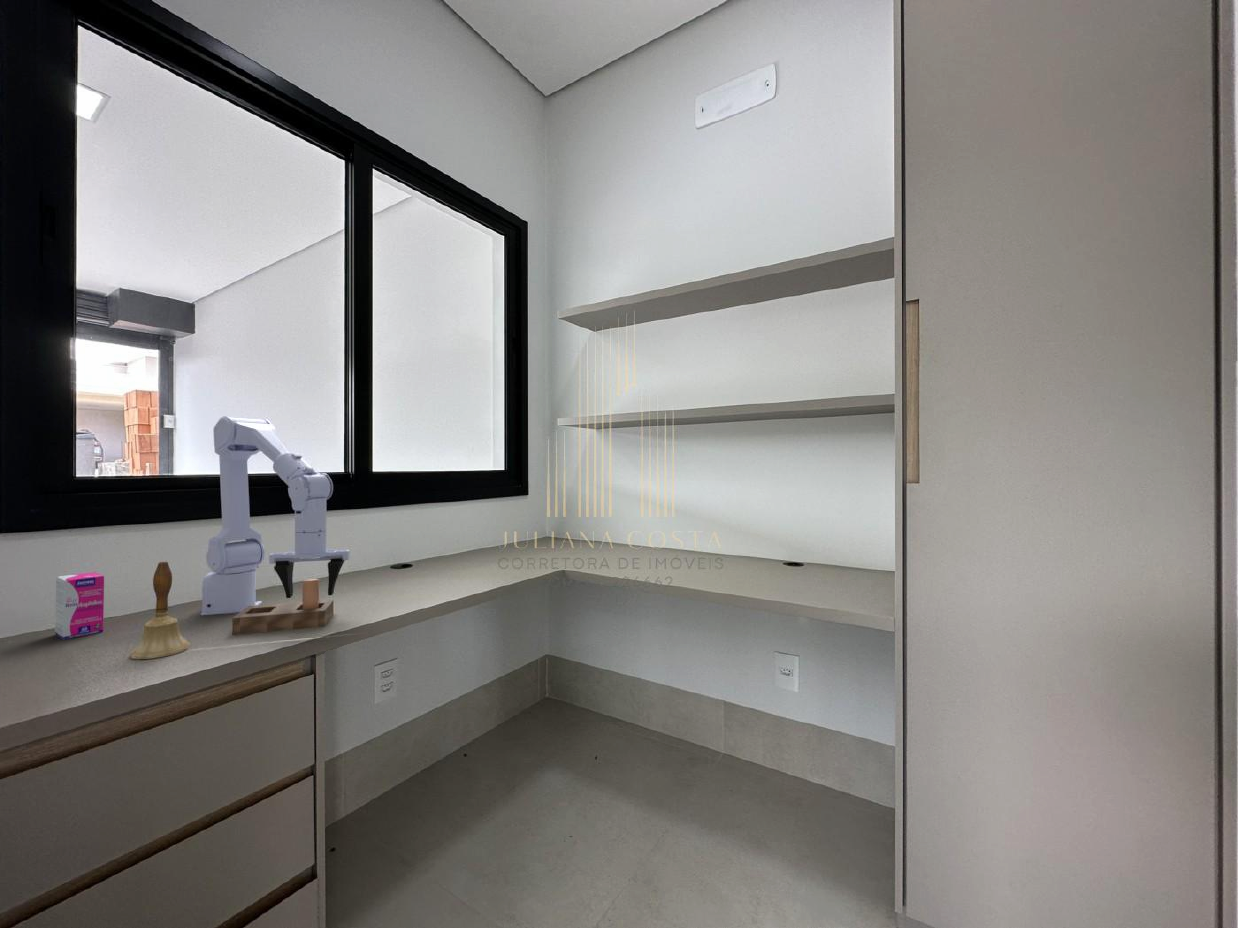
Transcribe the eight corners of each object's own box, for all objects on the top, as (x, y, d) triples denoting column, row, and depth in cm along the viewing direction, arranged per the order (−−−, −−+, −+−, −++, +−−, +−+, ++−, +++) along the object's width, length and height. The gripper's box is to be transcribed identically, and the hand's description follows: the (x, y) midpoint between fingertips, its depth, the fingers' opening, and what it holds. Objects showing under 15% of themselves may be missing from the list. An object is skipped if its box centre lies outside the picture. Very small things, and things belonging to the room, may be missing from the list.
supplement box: (62, 640, 99) (63, 580, 99) (54, 634, 102) (54, 576, 102) (104, 632, 104) (104, 574, 104) (95, 627, 107) (95, 571, 107)
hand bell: (166, 641, 98) (166, 557, 98) (202, 644, 96) (202, 559, 96) (116, 658, 90) (116, 565, 90) (155, 661, 88) (155, 567, 88)
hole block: (232, 635, 101) (232, 617, 101) (248, 622, 110) (248, 605, 110) (325, 627, 107) (325, 610, 107) (333, 615, 115) (333, 599, 115)
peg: (301, 625, 108) (301, 582, 108) (303, 621, 111) (303, 579, 111) (317, 624, 109) (317, 581, 109) (319, 620, 112) (319, 578, 112)
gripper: (264, 535, 103) (264, 603, 104) (345, 532, 108) (345, 597, 108) (275, 530, 110) (274, 594, 110) (351, 528, 115) (351, 589, 115)
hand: (310, 595), depth 110 cm, fingers open, 7 cm apart
